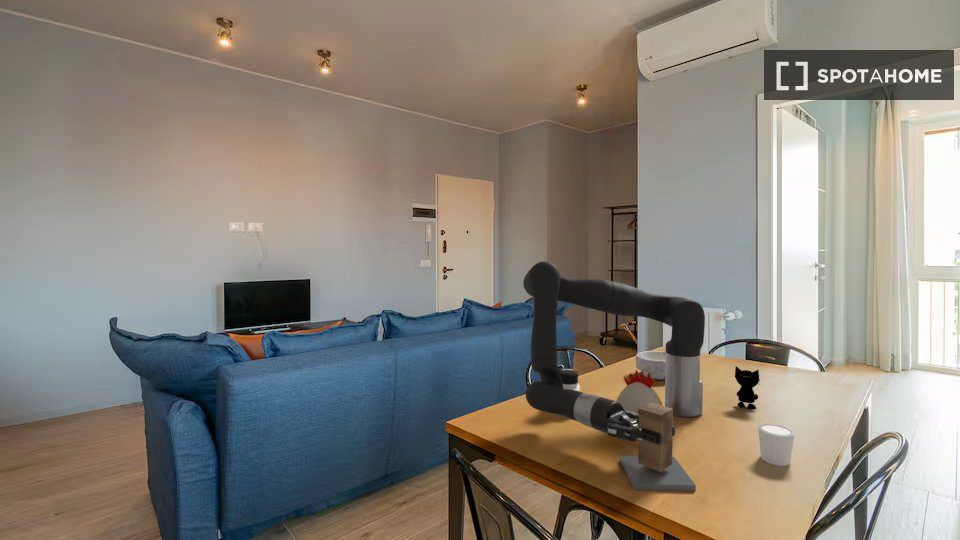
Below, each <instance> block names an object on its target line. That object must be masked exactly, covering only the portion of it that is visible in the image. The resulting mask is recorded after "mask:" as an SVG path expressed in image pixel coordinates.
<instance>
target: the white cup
mask: <svg viewBox="0 0 960 540" xmlns="http://www.w3.org/2000/svg"><path fill="white" fill-rule="evenodd" d="M757 428H758V429H757V430H758V438H759V451H760V459H761V460H763V461H764V462H765V463H768V464H770V465H774V466H780V467H781V466H782V467H785V466H789V465H790V464H791V461H792V453H793V445H794V439H795V432H794V431H793V430H792V429H790V428H788V427H785V426H782V425H779V424H771V423H770V424H769V423H763V424H760V425H758V427H757Z"/></svg>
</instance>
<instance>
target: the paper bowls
mask: <svg viewBox="0 0 960 540" xmlns="http://www.w3.org/2000/svg"><path fill="white" fill-rule="evenodd" d="M665 352H666V351H663V350H662V351H661V350H660V351H659V350H648V351H647V350H646V351H645V350H644V351H640V352H638V353H636V355H635V366H636V367H635V368H636V370H638V371H639V370H640V372H641V371H643V374H644V378H647V376H648V373H649V372H650V380H654V378H656V379H655V380H657V381H658V380H661V381H662V380H663V381H664V380H665Z"/></svg>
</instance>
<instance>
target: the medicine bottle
mask: <svg viewBox="0 0 960 540" xmlns="http://www.w3.org/2000/svg"><path fill="white" fill-rule="evenodd" d="M559 372H560V376H561V380H562V384H563V388H564V389H571V390H576V391H579V392H581V385H580V384H579V372H578V371H576V370H574V369H571V368H563V369H560V370H559Z"/></svg>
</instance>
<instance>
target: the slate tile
mask: <svg viewBox="0 0 960 540" xmlns="http://www.w3.org/2000/svg"><path fill="white" fill-rule="evenodd" d="M619 462H620V465H621V466H622V468H623V470H624V472H625V474H626V476H627V478H628V480H629V482H630V484H631V486H632V488H633V490H634V491H635V490H637V491H638V490H639V491H673V492H674V491H681V492H685V491H686V492H696V491H697V490H696V489H697V487H696V486H697V485H696V484H695V482H694V480H692V478H691V477H690V475H688V474H689V473H687V471H686V470H685V469H684V467H683V466H682V465H681V464H680V462H679V461H678V460H677V459H676V457H675V456H672V465H670V466H669V467H667V468H666V469H664V470H663V471H662V472H659V471H656V470H654V469H651V468H649V467H646V466H644V465H641V464H639V463H638V455H620V456H619Z"/></svg>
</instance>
